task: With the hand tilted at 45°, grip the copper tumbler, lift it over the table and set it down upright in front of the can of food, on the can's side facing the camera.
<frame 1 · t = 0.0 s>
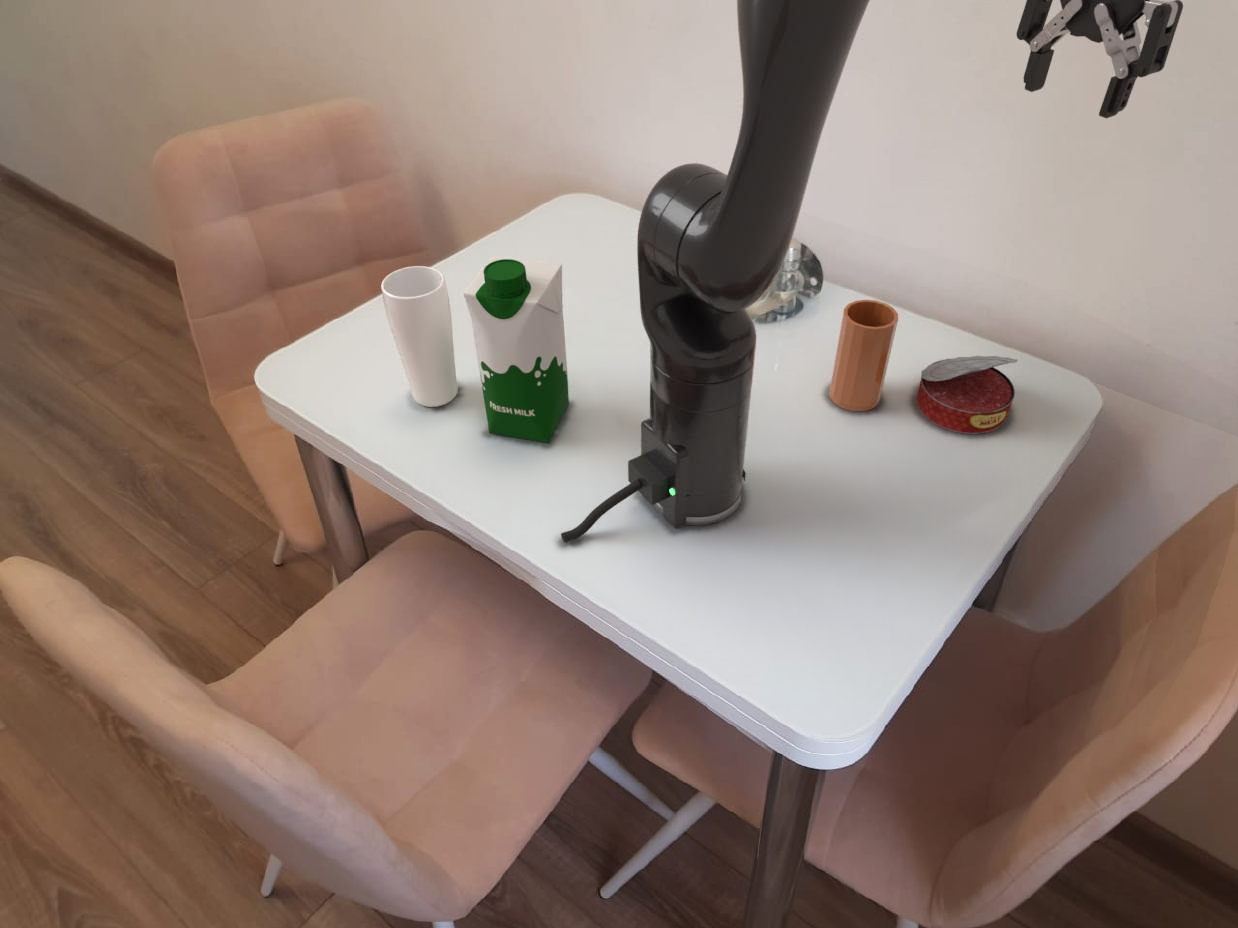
hand: (1069, 102, 88), 29 cm above the table, tool pointing down, fingers open, 8 cm apart
drinking glass: (435, 396, 103), on the table
milk carton: (530, 419, 99), on the table
tumbler: (854, 396, 101), on the table
canned food: (960, 407, 99), on the table
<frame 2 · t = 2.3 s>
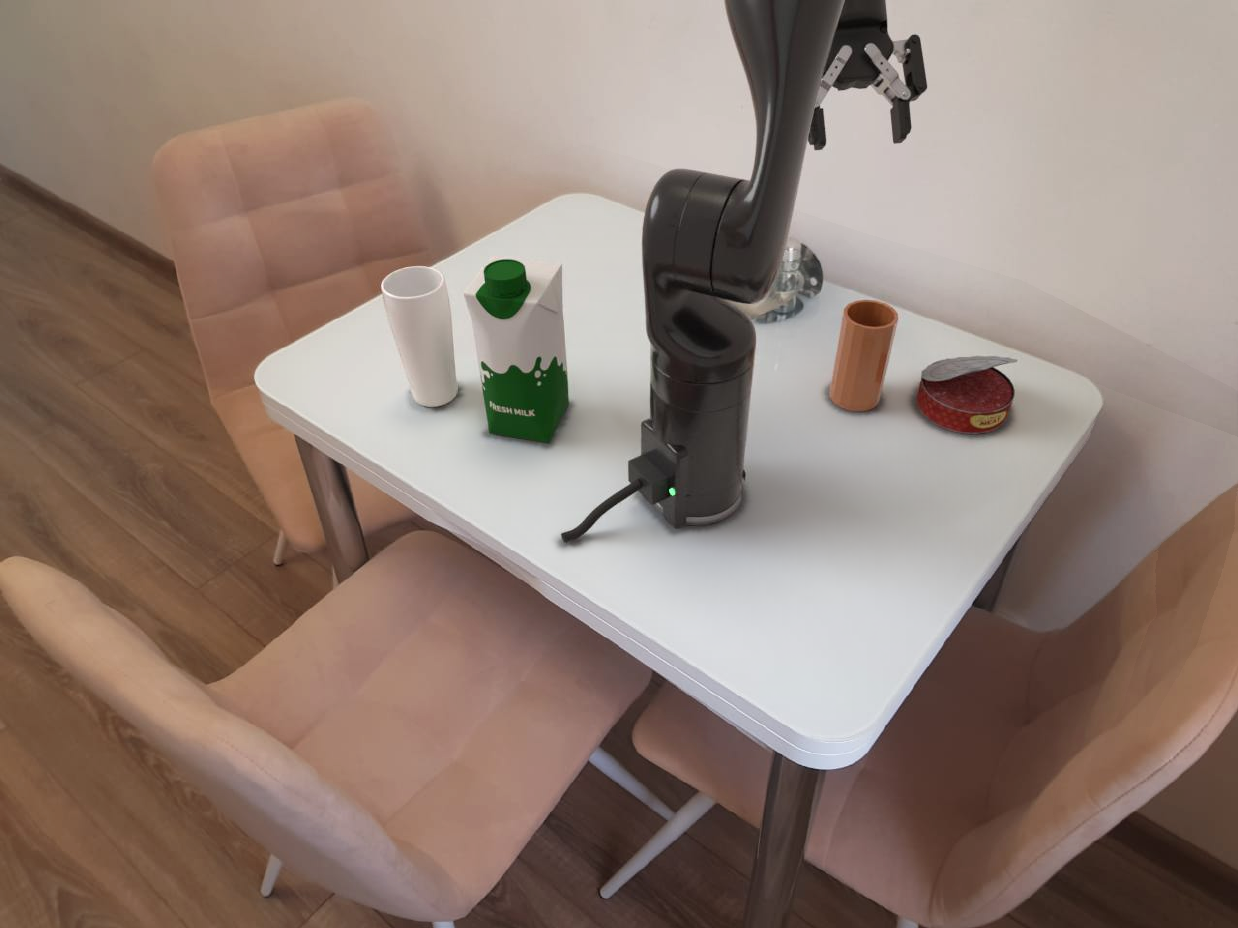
hand: (860, 144, 92), 25 cm above the table, tool tilted 40°, fingers open, 8 cm apart
nothing on the table moved.
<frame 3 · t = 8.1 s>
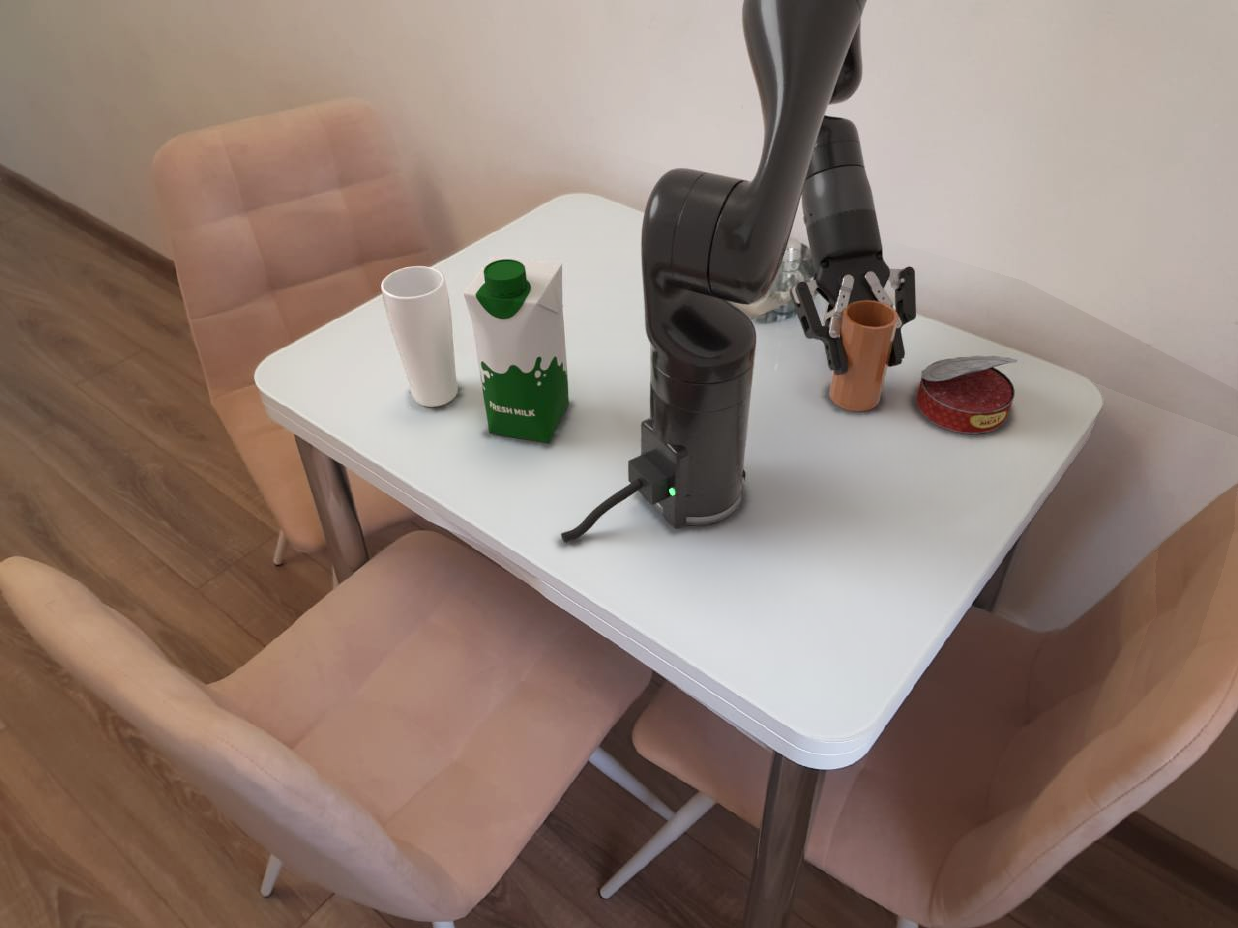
hand: (868, 369, 96), 5 cm above the table, tool tilted 45°, fingers closed on tumbler, 5 cm apart
tumbler: (854, 396, 101), on the table, touching gripper
everything else where it was.
when the fingers open (5 cm above the table, at t = 16.4 s): tumbler stays where it is, on the table.
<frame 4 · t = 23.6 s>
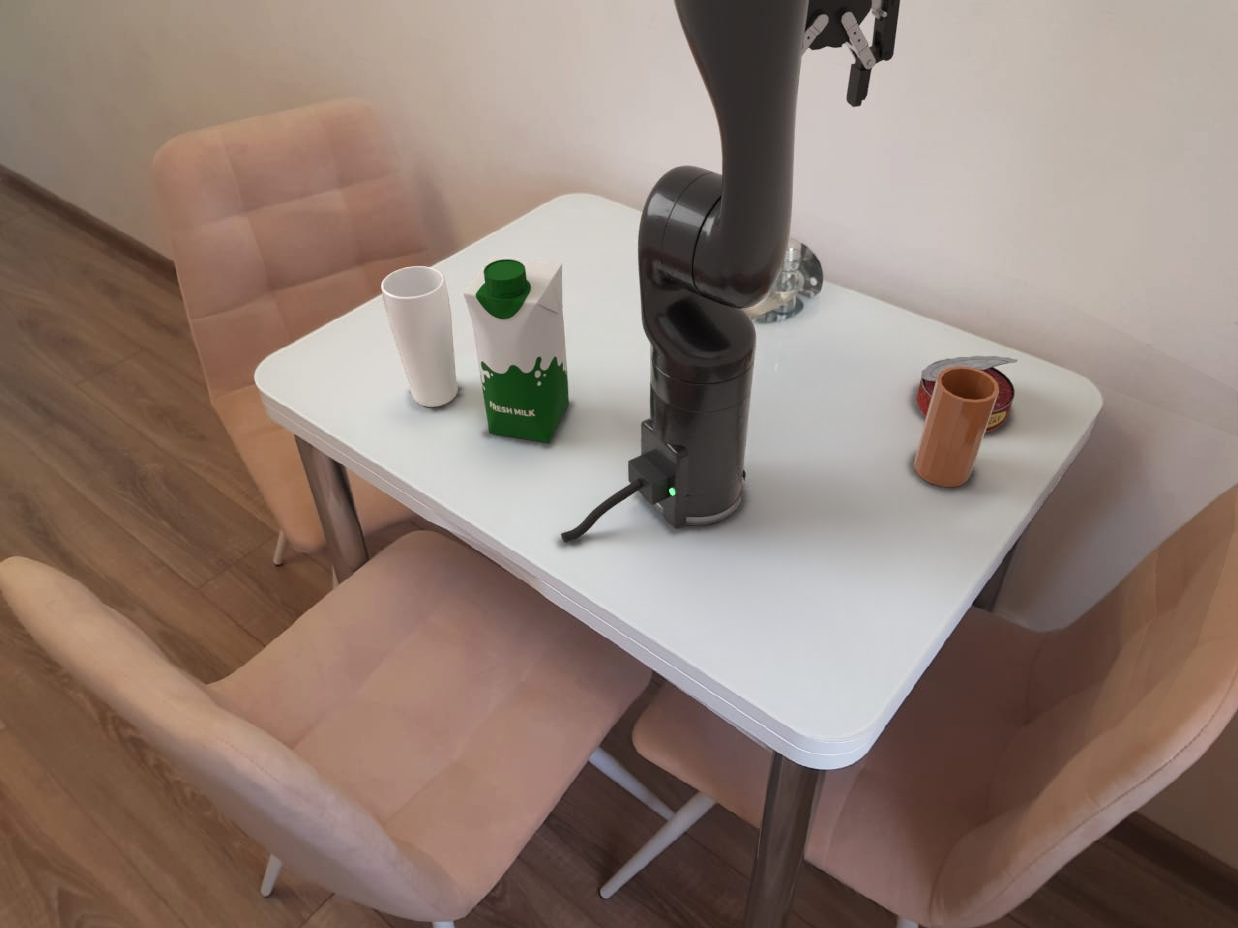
hand: (814, 108, 91), 28 cm above the table, tool pointing down, fingers open, 8 cm apart
tumbler: (941, 468, 91), on the table
everything else where it was.
at the end: tumbler 0.1 cm from the target spot on the table beside the canned food, on the table; tumbler tilted 0°; tumbler on the table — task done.
